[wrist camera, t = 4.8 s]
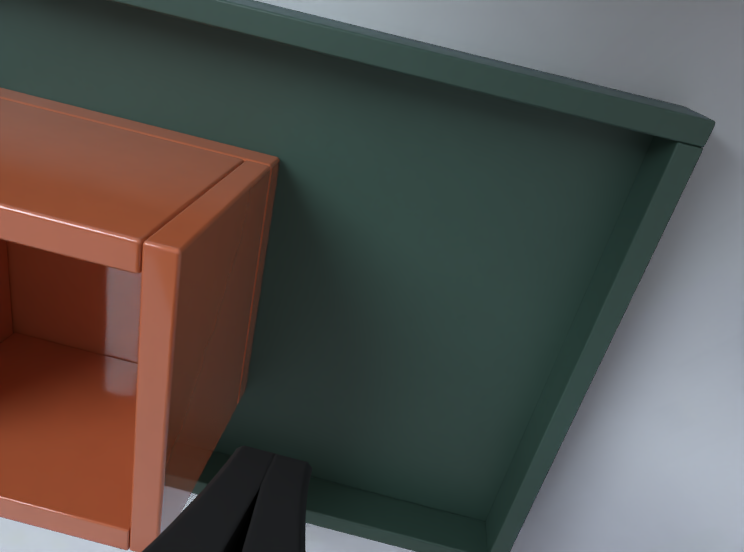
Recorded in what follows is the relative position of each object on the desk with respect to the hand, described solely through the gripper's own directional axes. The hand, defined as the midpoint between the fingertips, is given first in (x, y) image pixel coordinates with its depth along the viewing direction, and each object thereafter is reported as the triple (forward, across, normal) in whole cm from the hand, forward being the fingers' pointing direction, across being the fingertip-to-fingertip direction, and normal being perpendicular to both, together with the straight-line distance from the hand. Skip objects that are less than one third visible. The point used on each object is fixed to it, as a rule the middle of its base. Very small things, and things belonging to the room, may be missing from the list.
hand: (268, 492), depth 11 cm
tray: (+8, +3, 0) cm, 8 cm away
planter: (+4, +2, 0) cm, 5 cm away
